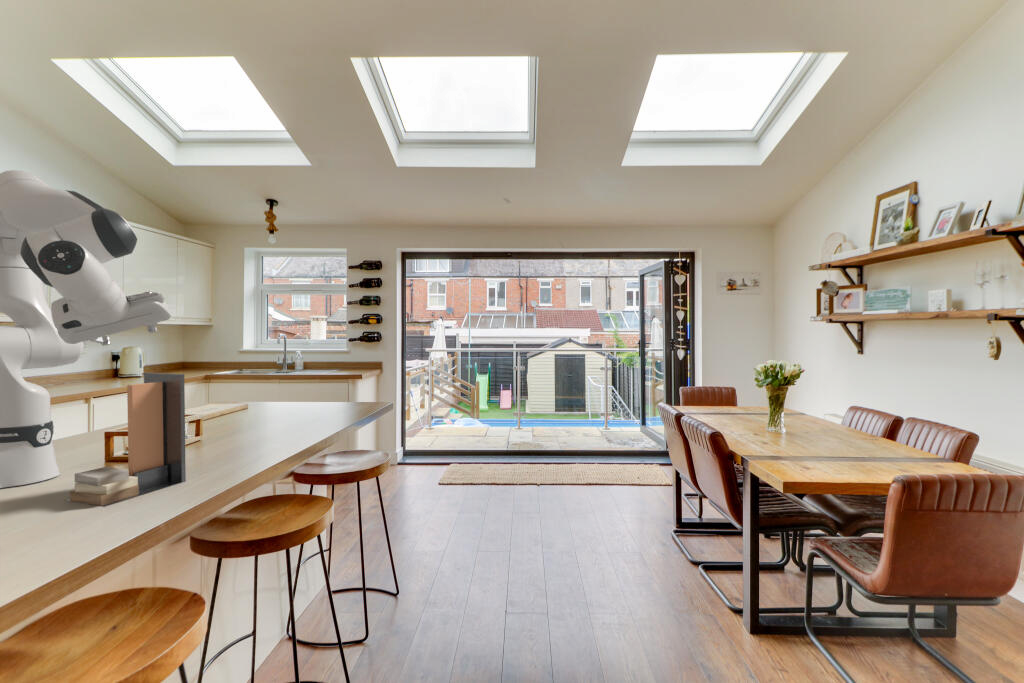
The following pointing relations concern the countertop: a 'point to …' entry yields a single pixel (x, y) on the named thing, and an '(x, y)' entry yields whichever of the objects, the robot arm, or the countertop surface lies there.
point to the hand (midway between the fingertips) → (130, 336)
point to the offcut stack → (104, 486)
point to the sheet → (145, 426)
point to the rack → (166, 438)
